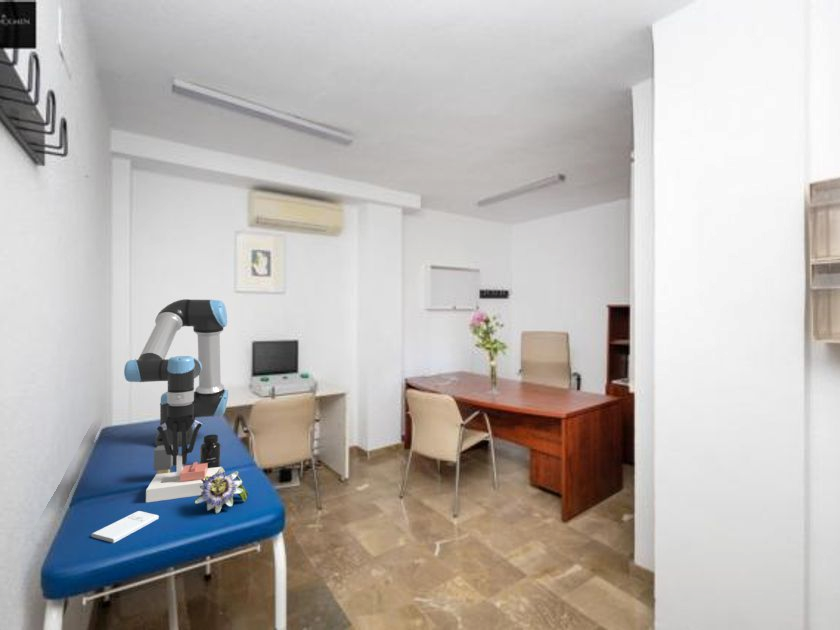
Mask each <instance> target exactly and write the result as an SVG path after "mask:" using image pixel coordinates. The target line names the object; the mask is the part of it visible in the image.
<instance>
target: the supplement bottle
mask: <svg viewBox="0 0 840 630" xmlns="http://www.w3.org/2000/svg"><path fill="white" fill-rule="evenodd" d="M221 445H222V444H221V443H220V442H219V435H218V434H208V435H205V436H203V443H202V444H201V445H200V451H199V452H200V453H199V464H204V463H208V468H215V467H221V448H222V447H221Z"/></svg>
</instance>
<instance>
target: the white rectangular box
mask: <svg viewBox="0 0 840 630" xmlns="http://www.w3.org/2000/svg"><path fill="white" fill-rule="evenodd" d="M220 468H223V466H219V467H215V468H208V470H207V473H206V476H209V477H210V476H211V477H212V476H213V475H214V474H215V473H217V472H218V470H219V469H220ZM206 476H205V477H206ZM203 480H205V479H203ZM201 485H203V481H202V480H201V479H196V480H188V481H180V476H176V471H171V472H170V473H163V474H157V473H156V474H155V475H154V477H153V478H152V480H151V482H150V483H149V485H148V487H146V490H145V503H152V502H159V501H168V500H175V499H181V498H189V497H197V496H198V497H199V496H200V495H201V492H203V491H204V490H203V489H201V488H200V486H201Z"/></svg>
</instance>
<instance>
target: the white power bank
mask: <svg viewBox="0 0 840 630" xmlns="http://www.w3.org/2000/svg"><path fill="white" fill-rule="evenodd" d="M159 517H160V516H159V514H154V513H150V512H146V511H141V510H138V511H135V512H133V513H131V514H129V515H127V516H125V517H123V518H121V519H119V520H117V521H115V522H113V523H111V524H109V525H107V526H104V527H102V528H100V529H98V530H96V531H94V532H92V533H91V538H94V539H98V540H102V541H105V542H109V543H112V544H115V543H116V542H119V541H120V540H122V539H124V538H126V537H127V536H130V535H131V534H132V533H135V532H137V531H139V530H141V529H142V528H144V527H146V526H148V525H150V524H151V523H153V522H155V521H157V520H159Z"/></svg>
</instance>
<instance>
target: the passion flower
mask: <svg viewBox="0 0 840 630" xmlns="http://www.w3.org/2000/svg"><path fill="white" fill-rule="evenodd" d="M236 479H237V480H236ZM201 480H202V481H203V485H201V486H200V488H201V489H203V490H204V491H203V492H201V495H198V497H196V498H195V500H194V501H193V504H201V503H203V502H205V503H206V511H207V512H208V511H211V510H214V512H215V514H219V513H220V512H221V509H222V507H223V505H226V506H227V507H230V508H232V507H233V504H234V496H235V495H238V497H240V498H241V500H242V502H246V501H247V498H248V497H247V496H249V492H248V491H247V490H246V489H245V487H244V486H243V485H242V483H243V481H242V480H243V479H241V478H240V477H239V472H238V471H234V472H231V473H230V474H227V473H226V471H225V469H224V468H223V467H222V468H220V469H219V470H218V472H217V473H215V474H214V475H213V476H212V477H211V476H210V477H209V476H206V477H205V480H203V479H201Z"/></svg>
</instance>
